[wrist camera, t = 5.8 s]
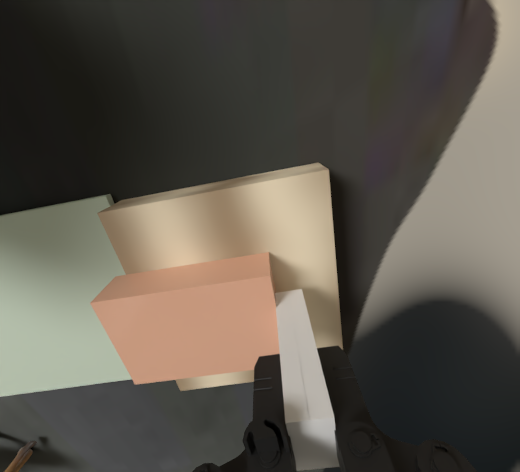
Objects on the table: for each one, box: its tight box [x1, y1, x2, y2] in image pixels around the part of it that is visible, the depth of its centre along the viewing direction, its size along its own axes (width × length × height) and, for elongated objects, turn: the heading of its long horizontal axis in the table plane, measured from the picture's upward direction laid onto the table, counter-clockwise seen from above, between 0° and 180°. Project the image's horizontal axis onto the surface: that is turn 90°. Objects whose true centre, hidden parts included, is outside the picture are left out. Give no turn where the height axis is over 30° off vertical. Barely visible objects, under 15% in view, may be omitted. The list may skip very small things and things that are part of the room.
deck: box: [97, 163, 343, 391], centre depth 17 cm, size 12×14×2 cm
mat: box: [0, 194, 132, 397], centre depth 19 cm, size 17×15×1 cm
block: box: [90, 252, 280, 384], centre depth 14 cm, size 9×6×2 cm, turn 100°
